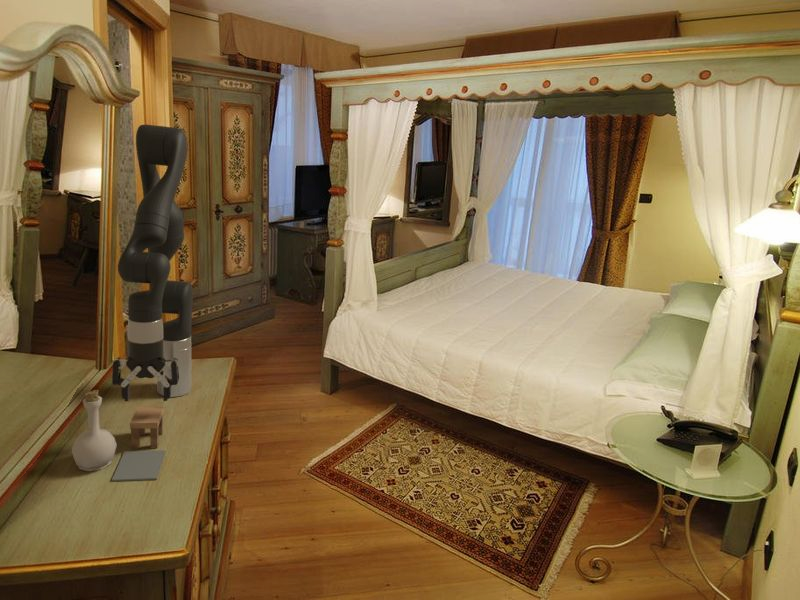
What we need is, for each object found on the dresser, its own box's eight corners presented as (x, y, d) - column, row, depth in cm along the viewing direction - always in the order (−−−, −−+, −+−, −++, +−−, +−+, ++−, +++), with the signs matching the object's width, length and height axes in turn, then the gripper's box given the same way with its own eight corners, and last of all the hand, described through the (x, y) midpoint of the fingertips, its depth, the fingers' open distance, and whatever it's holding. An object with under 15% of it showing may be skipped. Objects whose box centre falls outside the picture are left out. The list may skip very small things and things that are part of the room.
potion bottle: (98, 477, 117) (95, 403, 112) (63, 468, 119) (58, 394, 114) (126, 456, 126) (124, 386, 121) (92, 448, 127) (89, 378, 122)
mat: (124, 452, 127) (124, 451, 127) (165, 451, 129) (165, 450, 129) (111, 481, 116) (111, 479, 116) (156, 479, 119) (156, 478, 119)
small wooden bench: (138, 431, 136) (137, 406, 134) (163, 431, 137) (163, 406, 135) (130, 449, 128) (129, 423, 126) (157, 448, 130) (157, 422, 128)
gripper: (180, 331, 130) (180, 393, 135) (116, 330, 127) (118, 393, 131) (176, 342, 123) (175, 406, 128) (107, 341, 120) (109, 407, 124)
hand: (146, 399), depth 129 cm, fingers open, 8 cm apart
